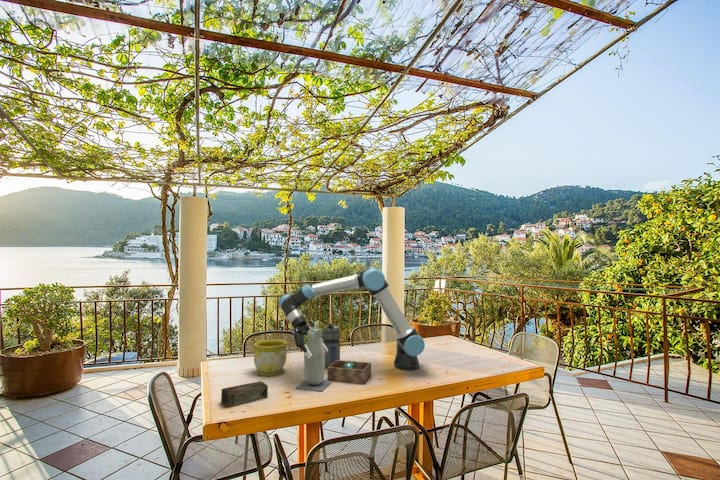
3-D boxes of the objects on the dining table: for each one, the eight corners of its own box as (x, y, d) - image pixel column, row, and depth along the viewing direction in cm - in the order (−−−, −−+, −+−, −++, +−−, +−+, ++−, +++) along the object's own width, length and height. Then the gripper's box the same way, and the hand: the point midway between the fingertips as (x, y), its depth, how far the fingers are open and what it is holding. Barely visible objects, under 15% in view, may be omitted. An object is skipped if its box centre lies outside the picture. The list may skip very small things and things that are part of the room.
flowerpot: (254, 368, 203) (255, 340, 204) (286, 366, 207) (286, 338, 208) (251, 378, 186) (252, 347, 186) (286, 376, 189) (286, 345, 190)
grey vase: (328, 383, 177) (329, 327, 178) (313, 389, 169) (314, 330, 171) (315, 379, 183) (315, 325, 185) (299, 384, 175) (300, 327, 177)
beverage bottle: (337, 362, 215) (337, 321, 217) (341, 369, 202) (342, 325, 204) (320, 363, 212) (321, 322, 214) (324, 370, 200) (324, 326, 201)
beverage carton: (268, 398, 160) (268, 383, 160) (225, 409, 148) (225, 393, 149) (261, 393, 166) (262, 379, 166) (220, 403, 154) (220, 388, 155)
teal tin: (354, 374, 190) (354, 362, 191) (352, 377, 186) (352, 365, 186) (346, 373, 192) (346, 362, 192) (343, 376, 187) (343, 364, 187)
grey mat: (332, 382, 181) (332, 380, 181) (321, 391, 167) (321, 390, 167) (307, 379, 184) (307, 378, 184) (295, 388, 171) (295, 387, 171)
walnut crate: (371, 375, 190) (371, 362, 191) (364, 384, 177) (364, 370, 177) (336, 372, 196) (336, 359, 196) (327, 380, 182) (327, 367, 183)
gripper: (309, 321, 196) (329, 353, 186) (276, 328, 177) (297, 364, 167) (316, 312, 193) (337, 345, 183) (283, 318, 174) (305, 355, 164)
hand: (318, 354), depth 175 cm, fingers open, 11 cm apart
